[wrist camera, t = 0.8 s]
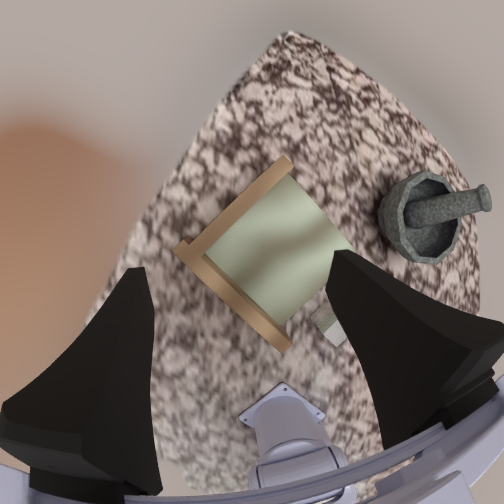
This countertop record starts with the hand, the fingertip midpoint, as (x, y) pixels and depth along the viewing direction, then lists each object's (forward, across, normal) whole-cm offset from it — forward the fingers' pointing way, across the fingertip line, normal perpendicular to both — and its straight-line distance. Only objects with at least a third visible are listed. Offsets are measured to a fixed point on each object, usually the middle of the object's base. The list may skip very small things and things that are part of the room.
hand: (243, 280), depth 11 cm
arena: (+17, -6, +10) cm, 20 cm away
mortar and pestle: (+17, -23, +6) cm, 29 cm away
